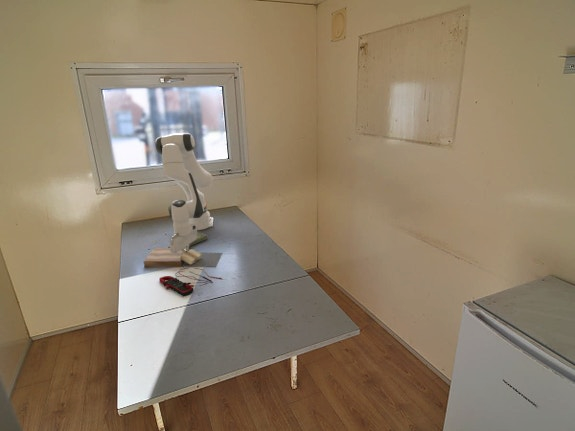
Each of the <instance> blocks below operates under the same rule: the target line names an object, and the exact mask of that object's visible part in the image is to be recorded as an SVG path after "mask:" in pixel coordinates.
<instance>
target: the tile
mask: <svg viewBox="0 0 575 431" xmlns="http://www.w3.org/2000/svg"><path fill="white" fill-rule="evenodd" d="M201 253H202V252H198V251H197V250H195V249H193V248H191V249H190V248H189V251H187V252H185V253H184V254H182V255H181V257H180V259H181V260H183V261H185V262H187V263H188V264H190V265H191V264H193V263H194V262H196V261H197V260H199V259H200V258H201V256H202V254H201ZM185 262H184V263H185Z"/></svg>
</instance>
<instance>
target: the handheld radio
mask: <svg viewBox="0 0 575 431" xmlns="http://www.w3.org/2000/svg"><path fill="white" fill-rule="evenodd" d="M208 237H209V236H208V235H207V234H204V233H202V232H199V233H197V239H196V240H194V241H193V242H192V243H190V244H189V247H191V246H194V245H195V244H197V243H201V242H203V241H205V240H207V239H208ZM167 248H170V246H168V247H167Z"/></svg>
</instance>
